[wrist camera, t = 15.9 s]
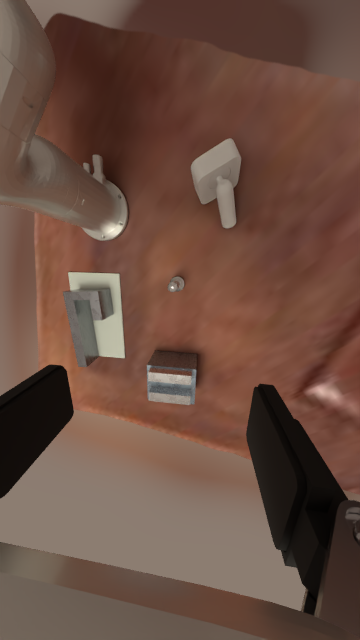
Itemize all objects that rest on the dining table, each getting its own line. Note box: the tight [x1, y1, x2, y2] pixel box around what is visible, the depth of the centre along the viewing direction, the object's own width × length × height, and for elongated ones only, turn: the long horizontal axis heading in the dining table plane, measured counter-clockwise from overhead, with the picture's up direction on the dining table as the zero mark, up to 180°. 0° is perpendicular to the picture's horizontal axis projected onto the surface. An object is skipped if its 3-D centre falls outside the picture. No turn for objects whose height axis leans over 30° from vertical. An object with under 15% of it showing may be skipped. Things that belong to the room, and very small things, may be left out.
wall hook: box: [191, 138, 241, 228], centre depth 35 cm, size 8×10×10 cm
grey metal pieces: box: [147, 277, 197, 405], centre depth 44 cm, size 32×12×10 cm, turn 178°
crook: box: [63, 288, 114, 367], centre depth 48 cm, size 20×9×6 cm, turn 1°
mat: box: [68, 272, 125, 358], centre depth 50 cm, size 24×14×1 cm, turn 178°
